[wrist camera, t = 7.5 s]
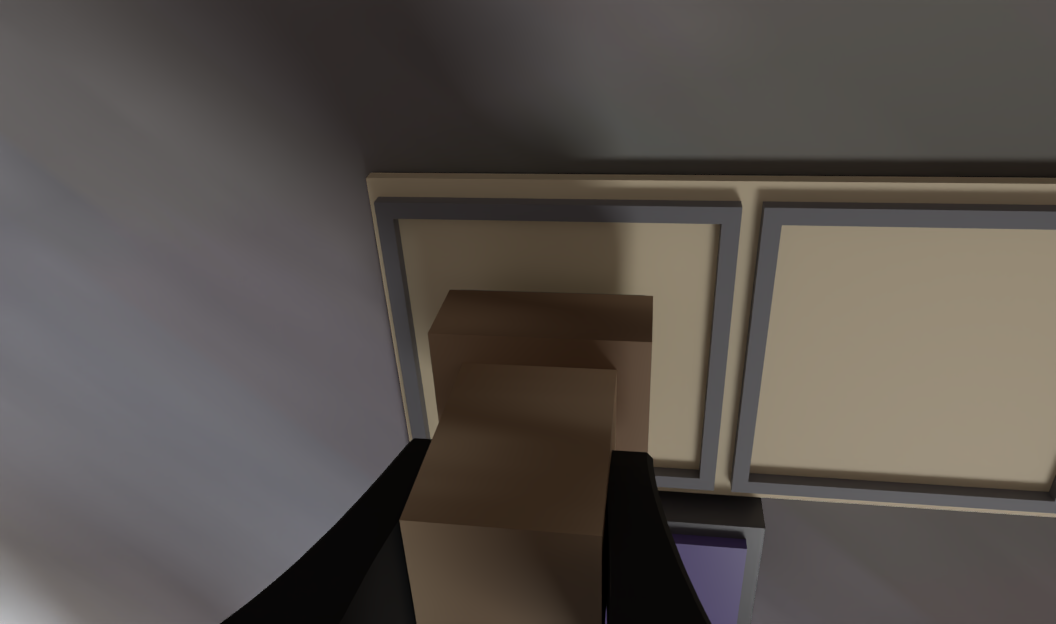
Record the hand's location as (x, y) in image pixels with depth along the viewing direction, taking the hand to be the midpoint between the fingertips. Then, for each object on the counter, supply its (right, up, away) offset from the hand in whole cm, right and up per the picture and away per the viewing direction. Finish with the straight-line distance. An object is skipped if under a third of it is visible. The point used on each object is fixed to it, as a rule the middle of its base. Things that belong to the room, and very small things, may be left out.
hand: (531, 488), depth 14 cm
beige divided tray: (+4, +2, +3) cm, 6 cm away
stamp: (0, +2, +3) cm, 4 cm away
